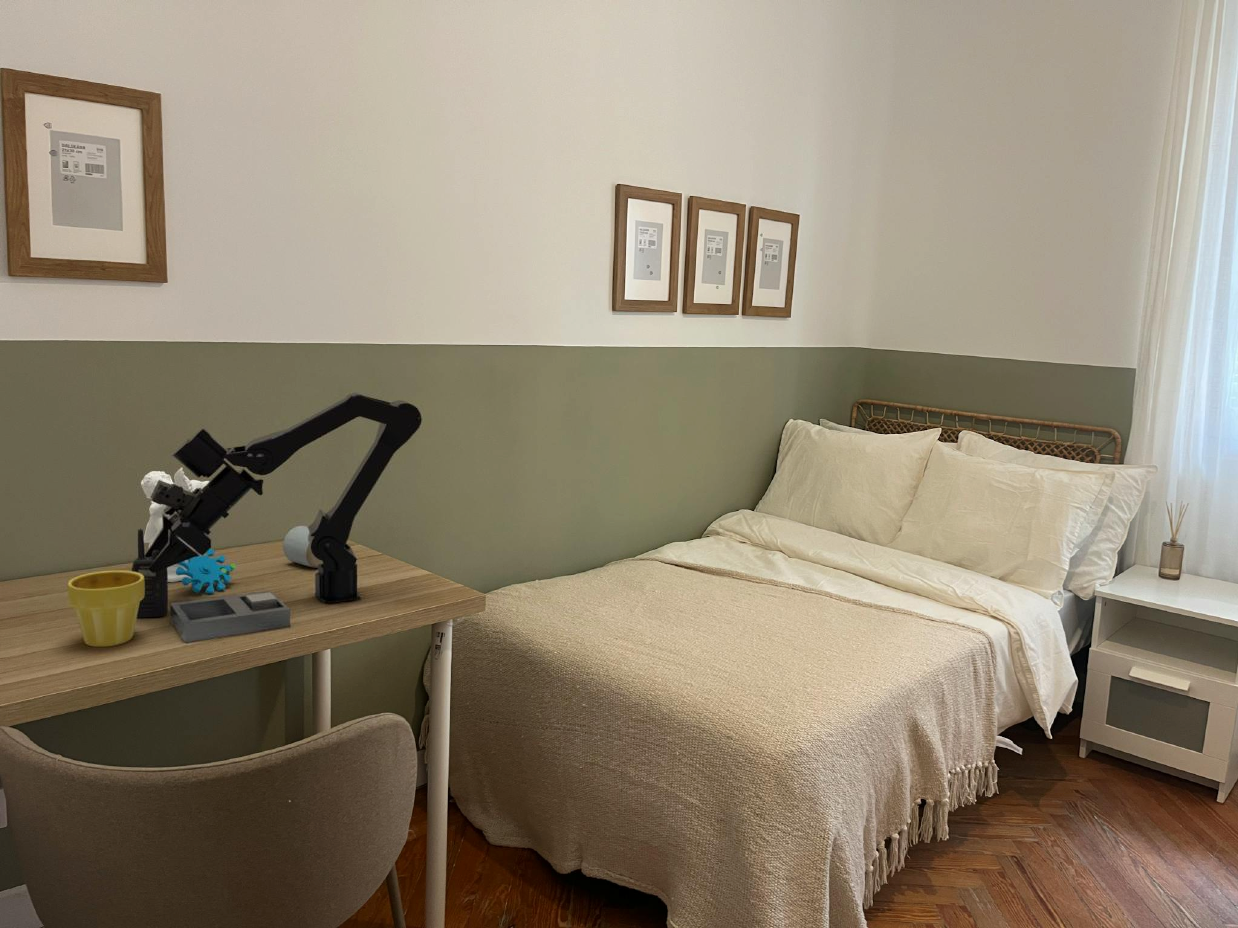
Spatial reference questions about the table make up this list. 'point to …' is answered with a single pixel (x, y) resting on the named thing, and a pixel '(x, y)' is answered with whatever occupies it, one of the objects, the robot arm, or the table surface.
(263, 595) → the steel block
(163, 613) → the two-way radio
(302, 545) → the ceramic mug
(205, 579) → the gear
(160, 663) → the table surface
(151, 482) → the cherub figurine
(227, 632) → the grey charging dock
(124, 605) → the plant pot
